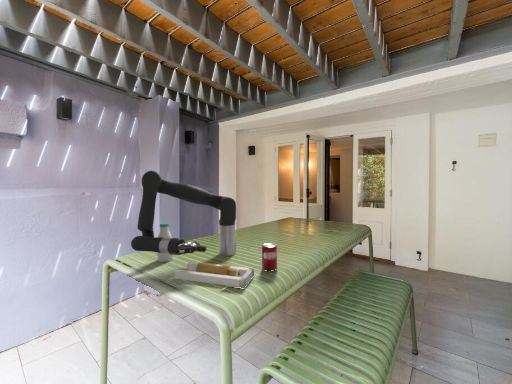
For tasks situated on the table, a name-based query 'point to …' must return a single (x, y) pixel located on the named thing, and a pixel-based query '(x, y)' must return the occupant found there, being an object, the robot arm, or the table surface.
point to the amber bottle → (217, 269)
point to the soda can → (269, 256)
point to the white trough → (215, 276)
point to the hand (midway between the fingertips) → (205, 249)
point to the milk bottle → (164, 234)
